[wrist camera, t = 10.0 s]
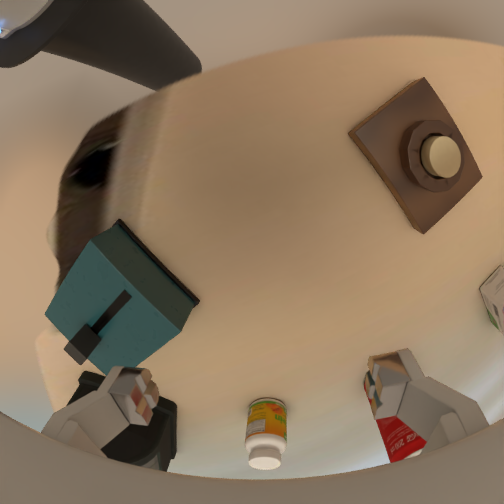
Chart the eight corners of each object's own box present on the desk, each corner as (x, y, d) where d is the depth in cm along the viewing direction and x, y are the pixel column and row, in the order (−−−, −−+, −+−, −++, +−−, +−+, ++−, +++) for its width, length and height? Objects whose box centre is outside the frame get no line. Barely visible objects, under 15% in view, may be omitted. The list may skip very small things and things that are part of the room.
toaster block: (67, 291, 32) (41, 314, 27) (119, 218, 28) (88, 235, 22) (132, 355, 35) (114, 385, 29) (200, 300, 31) (185, 333, 25)
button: (413, 150, 20) (422, 151, 19) (437, 128, 19) (447, 128, 18) (433, 183, 21) (443, 186, 19) (456, 161, 20) (467, 163, 18)
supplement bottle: (292, 412, 37) (294, 466, 28) (261, 422, 38) (257, 474, 29) (275, 392, 35) (273, 451, 26) (241, 403, 36) (234, 459, 27)
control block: (347, 133, 24) (360, 131, 20) (414, 80, 21) (433, 73, 17) (414, 228, 26) (432, 240, 22) (471, 174, 23) (493, 179, 20)
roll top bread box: (150, 477, 24) (160, 510, 31) (176, 400, 37) (176, 454, 44) (39, 426, 24) (76, 477, 31) (81, 366, 37) (101, 428, 44)
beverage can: (357, 391, 35) (379, 481, 20) (372, 358, 32) (406, 453, 18) (393, 390, 34) (422, 471, 20) (410, 357, 32) (451, 442, 18)
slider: (79, 331, 26) (63, 349, 23) (85, 323, 26) (68, 341, 23) (94, 346, 27) (80, 365, 24) (102, 339, 26) (86, 359, 23)
